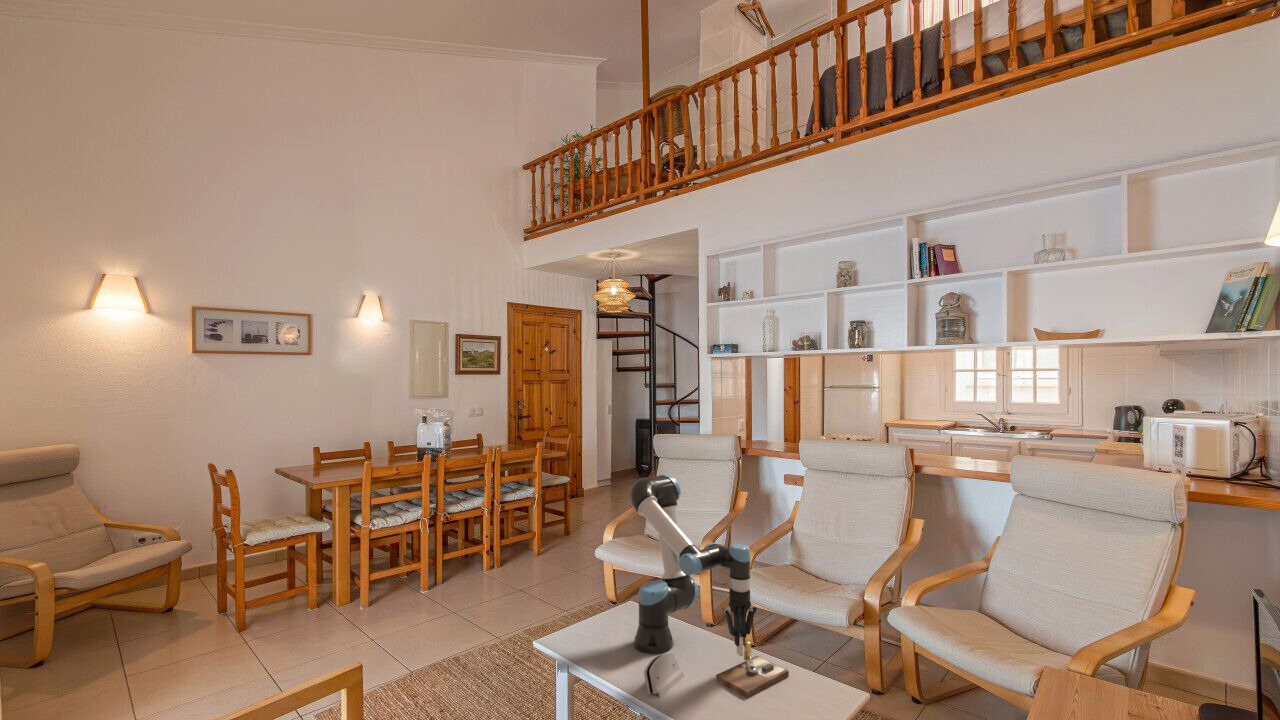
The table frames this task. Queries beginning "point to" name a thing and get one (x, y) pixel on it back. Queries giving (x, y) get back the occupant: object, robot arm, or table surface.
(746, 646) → the swing bar
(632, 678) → the table surface
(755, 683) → the board
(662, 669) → the hinge
